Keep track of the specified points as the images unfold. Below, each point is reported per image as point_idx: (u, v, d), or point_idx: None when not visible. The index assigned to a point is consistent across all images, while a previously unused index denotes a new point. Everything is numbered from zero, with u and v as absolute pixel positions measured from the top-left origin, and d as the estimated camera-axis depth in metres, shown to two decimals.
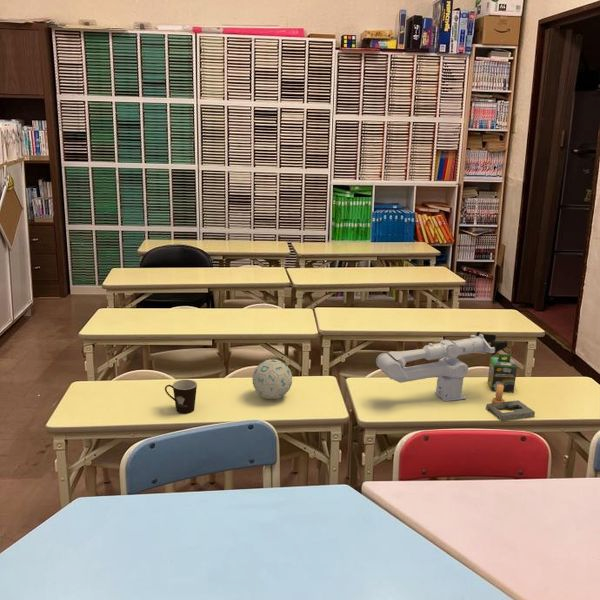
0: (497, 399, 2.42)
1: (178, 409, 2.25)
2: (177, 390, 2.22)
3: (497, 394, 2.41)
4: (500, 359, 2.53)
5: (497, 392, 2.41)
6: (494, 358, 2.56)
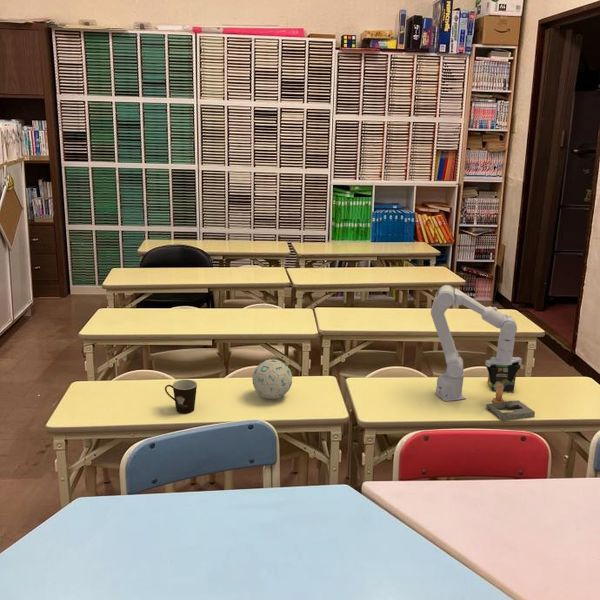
0: (497, 399, 2.42)
1: (178, 409, 2.25)
2: (177, 390, 2.22)
3: (497, 394, 2.41)
4: None
5: (497, 392, 2.41)
6: None
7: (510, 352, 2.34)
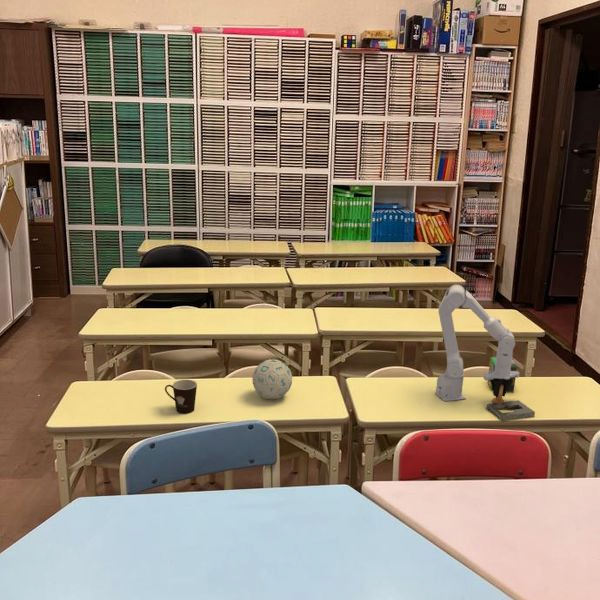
0: (497, 399, 2.42)
1: (178, 409, 2.25)
2: (177, 390, 2.22)
3: None
4: None
5: None
6: (494, 358, 2.56)
7: (508, 366, 2.36)
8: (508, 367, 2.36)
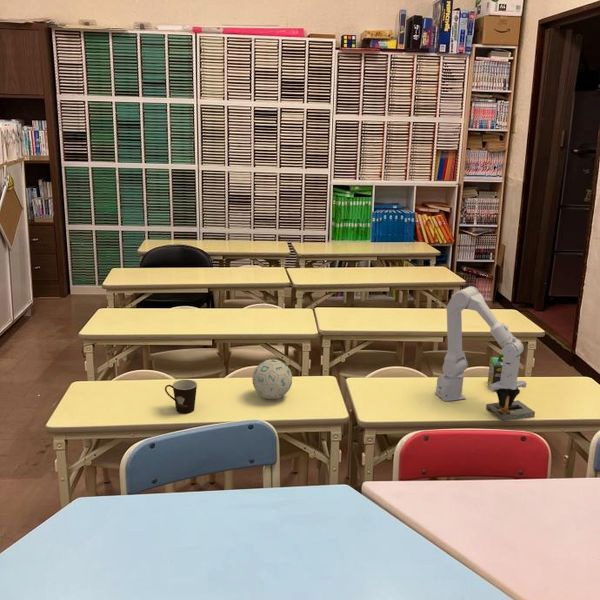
0: (502, 410, 2.33)
1: (178, 409, 2.25)
2: (177, 390, 2.22)
3: None
4: (500, 359, 2.53)
5: None
6: (494, 358, 2.56)
7: (515, 376, 2.27)
8: (515, 377, 2.27)
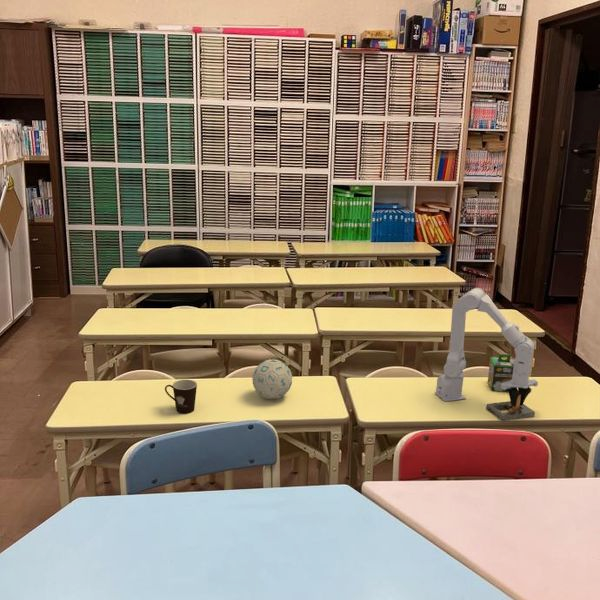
0: (514, 409, 2.34)
1: (178, 409, 2.25)
2: (177, 390, 2.22)
3: None
4: (500, 359, 2.53)
5: None
6: (494, 358, 2.56)
7: (526, 375, 2.28)
8: (526, 376, 2.28)
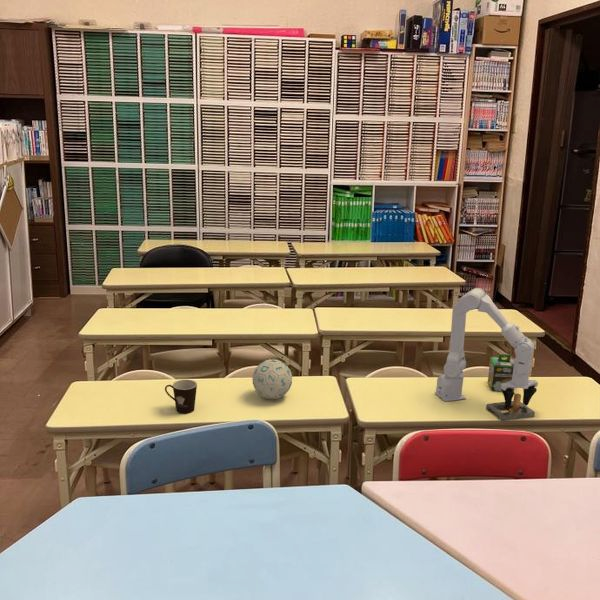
0: (514, 409, 2.34)
1: (178, 409, 2.25)
2: (177, 390, 2.22)
3: (514, 403, 2.34)
4: (500, 359, 2.53)
5: (514, 401, 2.34)
6: (494, 358, 2.56)
7: (526, 375, 2.28)
8: (526, 376, 2.28)
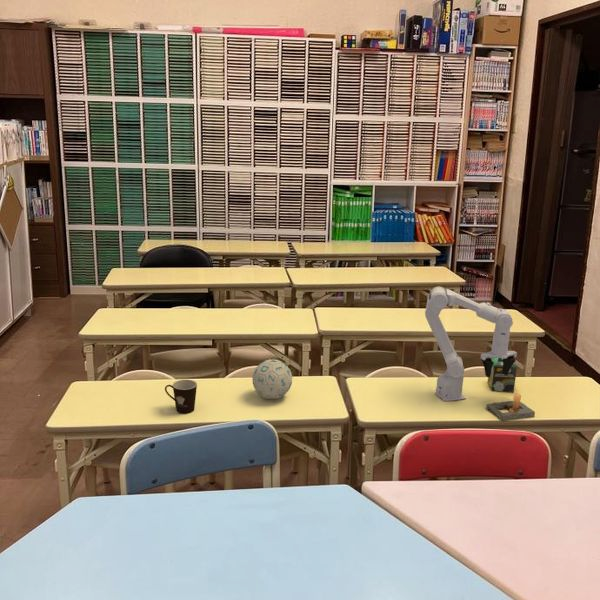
0: (514, 409, 2.34)
1: (178, 409, 2.25)
2: (177, 390, 2.22)
3: (514, 403, 2.34)
4: (500, 359, 2.53)
5: (514, 401, 2.34)
6: (494, 358, 2.56)
7: (505, 345, 2.35)
8: (505, 346, 2.35)
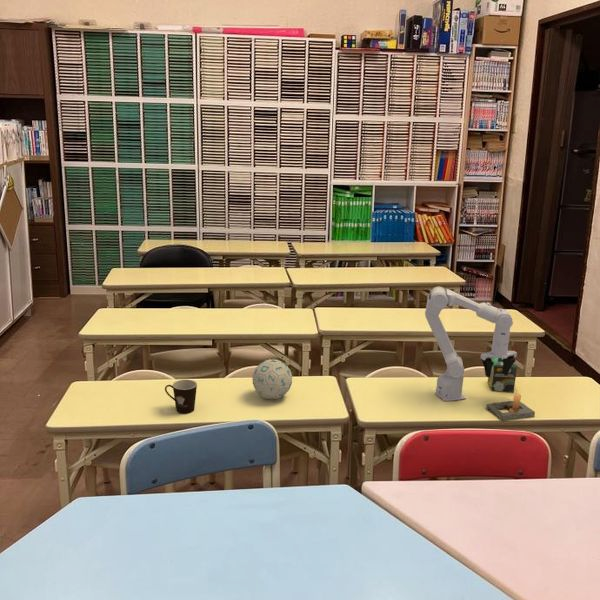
0: (514, 409, 2.34)
1: (178, 409, 2.25)
2: (177, 390, 2.22)
3: (514, 403, 2.34)
4: (500, 359, 2.53)
5: (514, 401, 2.34)
6: (494, 358, 2.56)
7: (505, 345, 2.35)
8: (505, 346, 2.35)
